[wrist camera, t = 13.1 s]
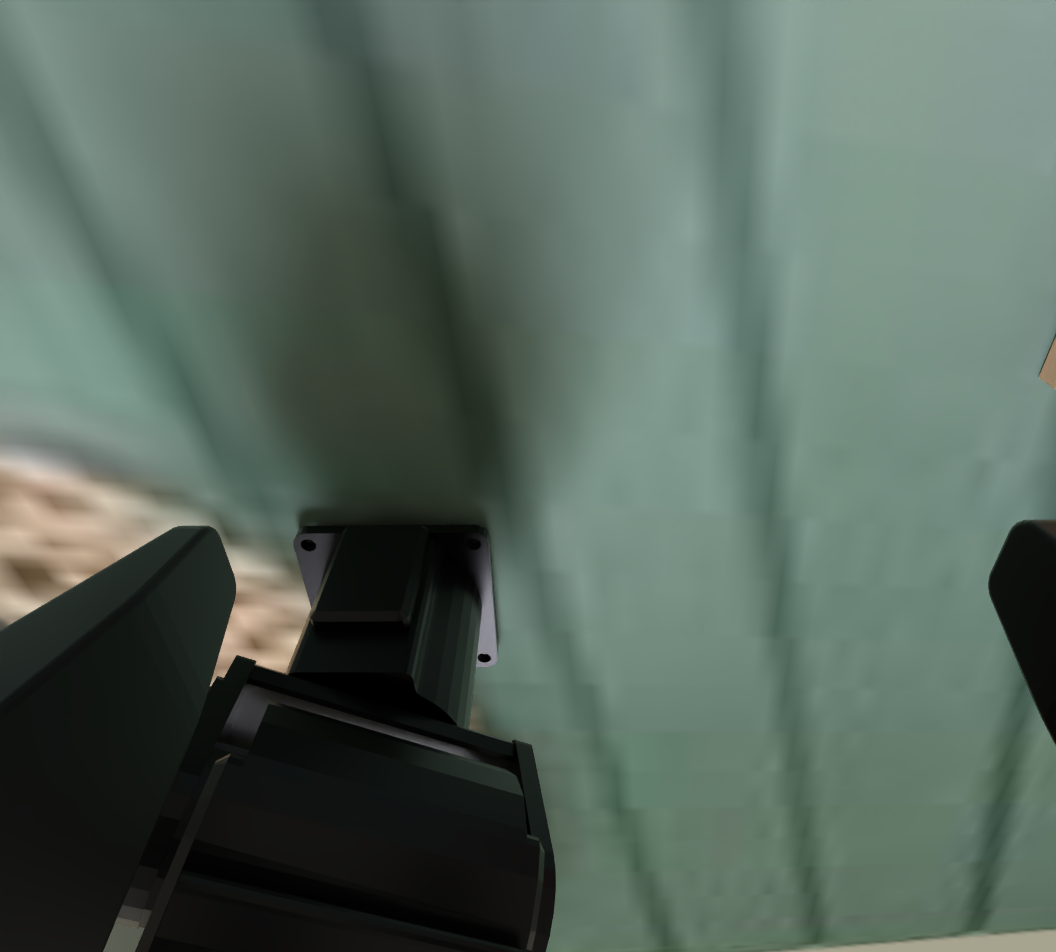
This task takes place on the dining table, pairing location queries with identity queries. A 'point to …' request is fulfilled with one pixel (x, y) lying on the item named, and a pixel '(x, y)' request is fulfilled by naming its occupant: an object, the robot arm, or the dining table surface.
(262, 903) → the robot arm
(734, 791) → the dining table surface
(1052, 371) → the tray
